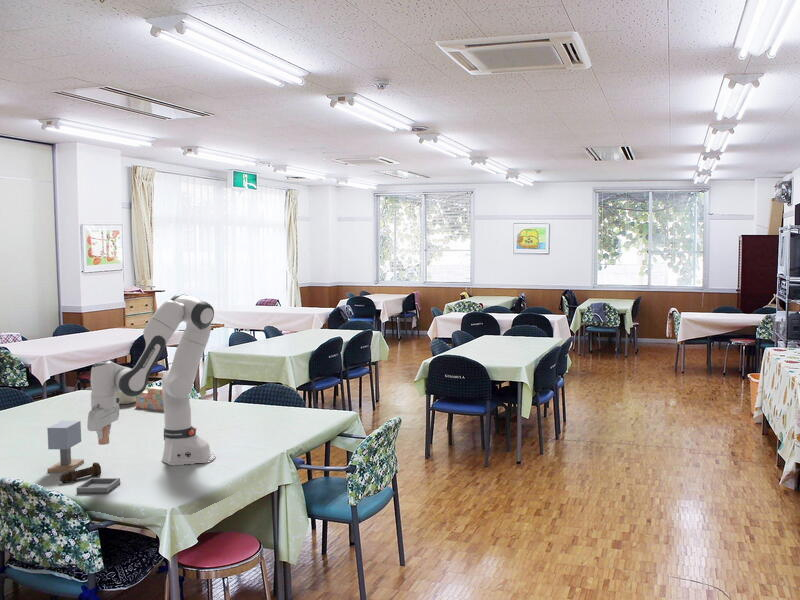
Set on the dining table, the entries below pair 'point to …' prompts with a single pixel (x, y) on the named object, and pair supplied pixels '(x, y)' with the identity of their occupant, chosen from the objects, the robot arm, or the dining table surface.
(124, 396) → the canister
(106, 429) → the peach rounded cylinder
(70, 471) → the bolt
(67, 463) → the mounted unit
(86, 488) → the parts tray
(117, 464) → the dining table surface
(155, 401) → the stack of blocks
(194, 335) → the robot arm
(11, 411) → the dining table surface
